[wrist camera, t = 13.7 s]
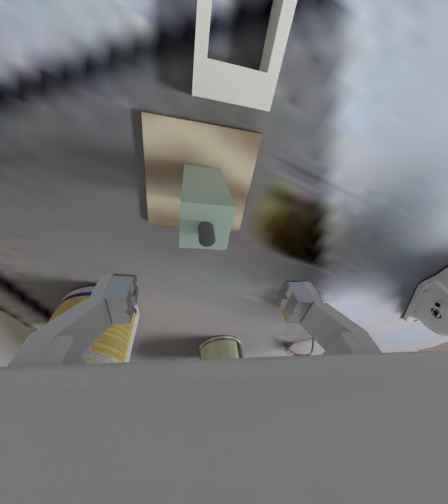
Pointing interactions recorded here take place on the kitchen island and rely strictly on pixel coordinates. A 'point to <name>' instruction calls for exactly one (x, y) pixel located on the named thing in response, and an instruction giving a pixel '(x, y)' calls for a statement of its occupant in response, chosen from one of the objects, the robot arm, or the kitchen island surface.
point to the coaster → (194, 162)
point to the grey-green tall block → (205, 209)
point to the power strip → (237, 77)
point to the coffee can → (221, 348)
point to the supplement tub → (111, 341)
